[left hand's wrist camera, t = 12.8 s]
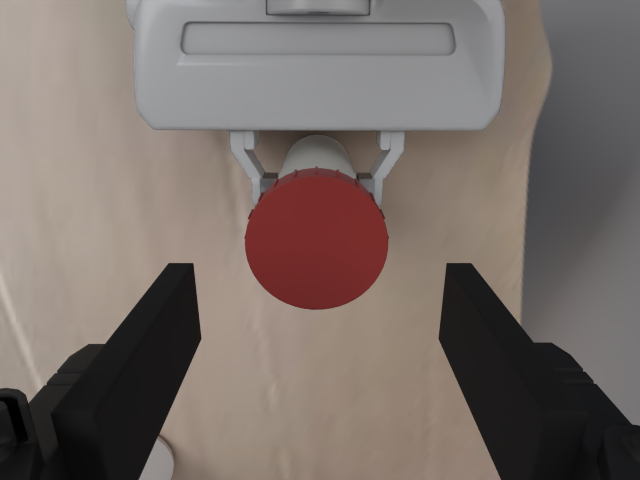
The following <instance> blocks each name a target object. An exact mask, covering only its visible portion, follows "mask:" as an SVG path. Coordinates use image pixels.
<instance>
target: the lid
mask: <svg viewBox="0 0 640 480" xmlns="http://www.w3.org/2000/svg"><path fill="white" fill-rule="evenodd" d="M248 219H249V222H248V225H247V230H246V235H245V250H246V256H247V260H248V263H249V266H250V268H251V270H252V272H253V274H254V276H255V277H256V279H257V280H258V282H259V283H260V284H261V285H262V286H263V287H264V288H265V289H266V290H267V291H268V292H269V293H270V294H271V295H273V296H274V297H276V298H277V299H279V300H281V301H283V302H285V303H287V304H290V305H292V306H295V307H299V308H304V309H313V310H317V309H329V308H334V307H338V306H341V305H344V304H346V303H349V302H351V301H352V300H354V299H356V298H358V297H359V296H360V295H362V294H363V293H364V292H365V291H367V290H368V289H369V288H370V287H371V285H372V284H373V283H374V282H375V281H376V279H377V278H378V276H379V275H380V273H381V271H382V269H383V266H384V263H385V260H386V257H387V251H388V239H389V237H388V234H387V229H386V225H385V222H384V219H385V217H384V215H383V212H382V210H381V209H380V210H379V208H378V206H377V204H376V202H375V198H374V196H373V194H372V192H370V193H369V192H368V190H367V189H366V188H365V187H364V186H363V185H362V184H360V183H359V181H358V179H357V178H355V179H353V178H352V177H350V176H348V175H346V174H344V173H341V172H339V170H338V169H336V171H335V170H331V169H324V168H318V166H315V168H309V169H302V170H298V171H297V169H295V170H294V172H292V173H290V174H287V175H285V176H283V177H282V178H280V179H278V178H277V179H276V180H275V182H274V183H273V184H272V185H271V186H270V187H269V188H268V189H267V190H266V191H265V192H264V193H263V192H262V193H261V194H260V197H259V199H258V203H257V204H256V206H255V208H254V210H253V209H252V211H251V213H250V215H249V217H248Z"/></svg>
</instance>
